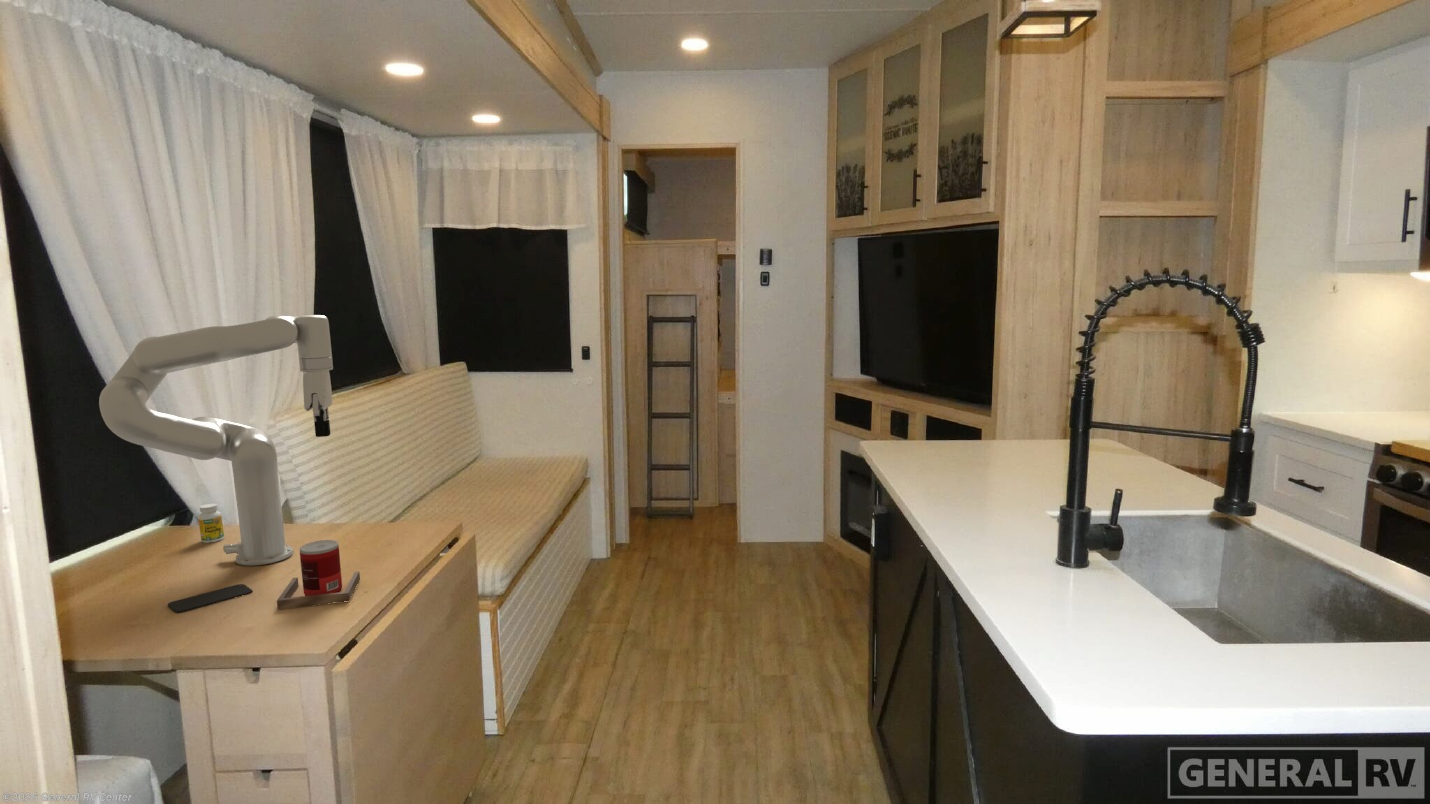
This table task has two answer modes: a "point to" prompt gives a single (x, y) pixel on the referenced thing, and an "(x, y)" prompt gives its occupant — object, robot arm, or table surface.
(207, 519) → the supplement bottle
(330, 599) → the walnut frame
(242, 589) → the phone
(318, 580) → the canned food
